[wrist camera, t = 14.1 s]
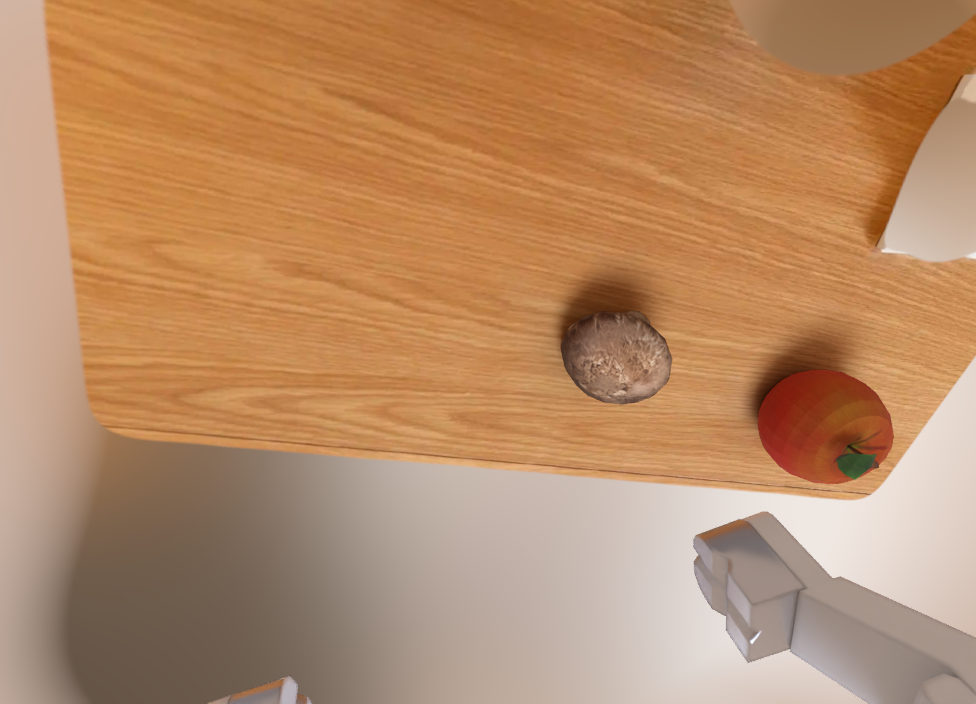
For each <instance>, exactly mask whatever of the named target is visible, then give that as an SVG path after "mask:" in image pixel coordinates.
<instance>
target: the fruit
mask: <svg viewBox="0 0 976 704" xmlns="http://www.w3.org/2000/svg"><path fill="white" fill-rule="evenodd" d="M758 430H759V436H760V439H761V441H762V444H763V447H764V448H765V450H766V451H767V452H768V454H769V455H770V456H771V457H772V458H773V460H774V461H775V462H776V463H777V464H778V465H779V466H780V467H781V468H783V469H784V470H786V471H787V472H788V473H790V474H792V475H795V476H797V477H800V478H803V479H805V480H808V481H811V482H814V483H825V484H840V483H844V482H848V481H851V480H855V479H857V478H859V477H861V476H864V475H865V474H867V473H868V472H870V471H872V470H873V469H875V468H879V464H880V463H881V462H882V461H883V460H885V458H886V457H887V455H888V453H889V451H890V450H891V448H892V443H893V438H894V436H893V429H892V423H891V418H890V414H889V412H888V411H887V409H886V407H885V406H884V404H883V403H882V401H881V400H880V398H879V396H878V395H877V393H875V392H874V391H873V390H872V389H871V388H870V387H868V386H867V385H866V384H865V383H863V382H861V381H859V380H857V379H855V378H853V377H851V376H849V375H846V374H844V373H842V372H836V371H829V370H817V369H815V370H809V371H803V372H799V373H795V374H792V375H790V376H788V377H786V378H785V379H783V380H781V381H780V382H779V383H778V384H777V385H776V386H774V387H773V388H772V389H771V391H770V392H769V393H768V395H767V396H766V397H765V399H764V401H763V403H762V405H761V407H760V410H759V415H758Z"/></svg>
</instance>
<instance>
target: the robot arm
mask: <svg viewBox="0 0 976 704" xmlns="http://www.w3.org/2000/svg"><path fill="white" fill-rule="evenodd" d="M694 549H695V550H696V552H697V553H698V557H697V558H696V559H695V561H694V571H695V576H696V579H697V581H698V585H699V587H700V589H701V591H702V593H703V595H704V597H705V598H706V600H707V602H708V603H709V605H710V606H711V608H712V609H713V610H715V611H717V612H719V613H721V614H723V615H724V616H726V631H727V632H728V634H729V635H730V637H731V638H732V640H733V641H734V642H735V644H736V645H737V647H738V648H739V650H740V652H741V653H742V655H743V656H744V658H745V659H746V661H747V662H748V663H749V662H752V661H755V660H758V659H761V658H764V657H767V656H770V655H773V654H776V653H779V652H782V651H785V650H788V649H790V652H792V653H793V654H795V655H796V656H798V657H799V658H801V659H802V660H804V661H805V662H807V663H808V664H810V665H811V666H813V667H814V668H816V669H817V670H819V671H820V672H822V673H823V674H825V675H826V676H828V677H829V678H831V679H832V680H834V681H835V682H837V683H838V684H840V685H841V686H843V687H844V688H846V689H847V690H849V691H850V692H852V693H853V694H855V695H857V696H858V697H859V698H861V699H862V700H864V701H865V702H867V703H869V704H976V638H975V637H973V636H971V635H969V634H966V633H964V632H962V631H960V630H958V629H955V628H953V627H951V626H949V625H947V624H944V623H942V622H940V621H938V620H936V619H933V618H931V617H929V616H927V615H924V614H922V613H920V612H918V611H916V610H913V609H911V608H909V607H907V606H904V605H902V604H900V603H898V602H896V601H893V600H891V599H889V598H887V597H884V596H882V595H880V594H878V593H875V592H873V591H871V590H869V589H867V588H865V587H862V586H860V585H858V584H856V583H853V582H851V581H849V580H847V579H844V578H842V577H837V578H834V579H833V578H832V577H831V576H830V575H829V574H828V573H827V572H826V571H825V570H824V569H823V568H822V567H821V566H820V564H819V563H818V562H817V561H816V560H815V559H814V558H813V557H812V556H811V555H810V554H809V553H808V552H807V551H806V550H805V549H804V547H802V545H801V544H800V543H799V542H798V541H797V540H796V539H795V538H794V537H793V536H792V535H791V534H790V533H789V532H788V531H787V529H786V528H784V526H783V525H782V524H781V523H780V522H779V521H778V520H777V519H776V518H775V517H774V516H773V515H772V514H770V513H768V512H760V513H758V514H755V515H752V516H749V517H747V518H744V519H741V520H740V519H739V520H736V521H733V522H731V523H728V524H725V525H723V526H720V527H717V528H714V529H712V530H709V531H706V532H704V533H701V534H698V535H696V536H695V538H694ZM297 688H298V684H297V683H296V682H295V681H294V679H293V678H292V677H291V676H287V677H285V678H282V679H279V680H276V681H273V682H270V683H267V684H264V685H261V686H258V687H255V688H252V689H249V690H246V691H243V692H240V693H237V694H233V695H230V696H227V697H224V698H221V699H218V700H216V701H213V702H210V703H208V704H312V702H311V701H310V700H309V698H308V697H307V696H303V695H300V694H297Z"/></svg>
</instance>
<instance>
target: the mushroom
mask: <svg viewBox="0 0 976 704" xmlns="http://www.w3.org/2000/svg"><path fill="white" fill-rule="evenodd" d="M561 352H562V357H563V361H564V366H565V368H566V371H567V372H568V374H569V375H570V377H571V378H572V380H573V381H574V383H575V384H576V385H577V386H578V387H579V388H580V389H581V390H582V391H583V392H584V393H585V394H587V395H588V396H590V397H593V398H595V399H597V400H600V401H602V402H606V403H614V404H628V403H635V402H639V401H642V400H645V399H647V398H650V397H652V396H653V395H655V394H656V393H657V392H658V391H659V390H660V389H661V388H662V387H663V386H664V385H665V384H666V383H667V381H668V380H669V376H670V370H671V364H672V357H671V354H670V351H669V349H668V346H667V343H666V340H665V338H664V337H663V336H661V335H660V334H659V333H658V332H657V331H656V330H655V329H654V328H653V327H652V326H651V325H650V321H649V320H648V319H647V317H646V316H645V315H643V314H642V313H640V312H639V311H629V312H626V313H619V312H606V311H603V312H599V313H595V314H591V315H587V316H584V317H582V318H580V319H579V320H578V321H576V322H575V323H574V324H572V325H571V326H569V327H568V329H567V330H566V333H565V335H564V338H563V340H562V343H561Z"/></svg>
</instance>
